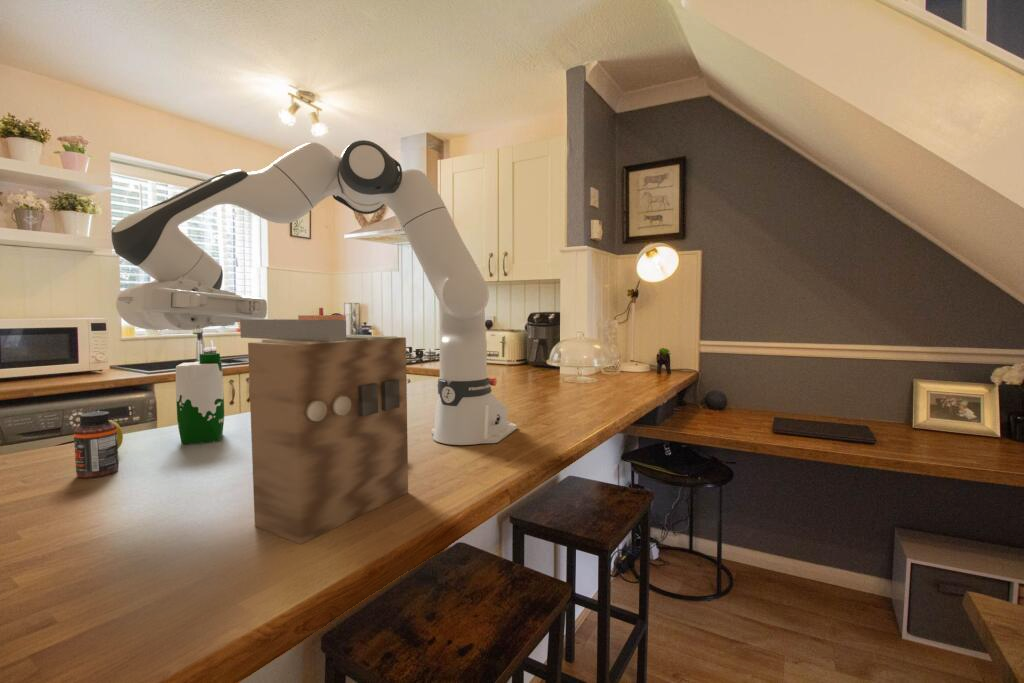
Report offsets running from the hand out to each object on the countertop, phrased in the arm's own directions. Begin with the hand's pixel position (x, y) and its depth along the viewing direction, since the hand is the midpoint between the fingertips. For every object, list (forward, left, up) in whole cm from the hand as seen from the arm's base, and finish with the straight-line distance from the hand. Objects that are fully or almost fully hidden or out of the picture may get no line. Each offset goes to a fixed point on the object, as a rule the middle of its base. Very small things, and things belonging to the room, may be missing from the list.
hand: (232, 303), depth 77 cm
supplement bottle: (+8, -31, -31) cm, 45 cm away
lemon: (+3, -42, -31) cm, 53 cm away
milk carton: (-14, -39, -31) cm, 52 cm away
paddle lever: (+1, +17, -5) cm, 18 cm away
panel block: (-4, +20, -31) cm, 37 cm away
